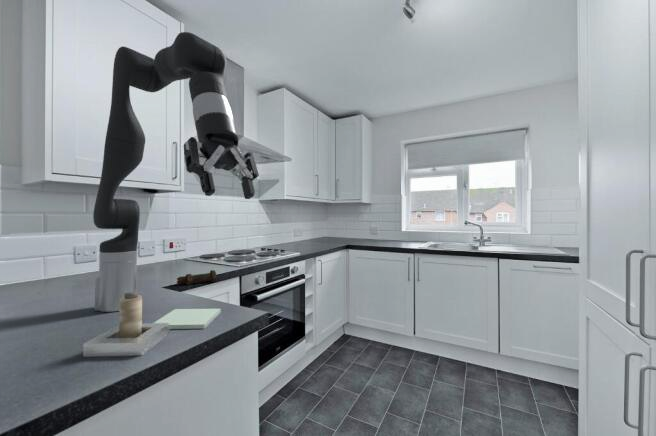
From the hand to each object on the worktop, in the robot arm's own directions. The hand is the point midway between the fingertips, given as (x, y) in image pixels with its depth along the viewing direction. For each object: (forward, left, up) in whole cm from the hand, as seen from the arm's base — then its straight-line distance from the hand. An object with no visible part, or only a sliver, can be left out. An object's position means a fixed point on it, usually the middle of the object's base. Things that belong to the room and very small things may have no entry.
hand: (231, 196), depth 54 cm
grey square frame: (-23, +9, -31) cm, 40 cm away
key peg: (-23, +9, -31) cm, 40 cm away
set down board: (-17, +24, -31) cm, 43 cm away
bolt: (-33, +71, -32) cm, 85 cm away
